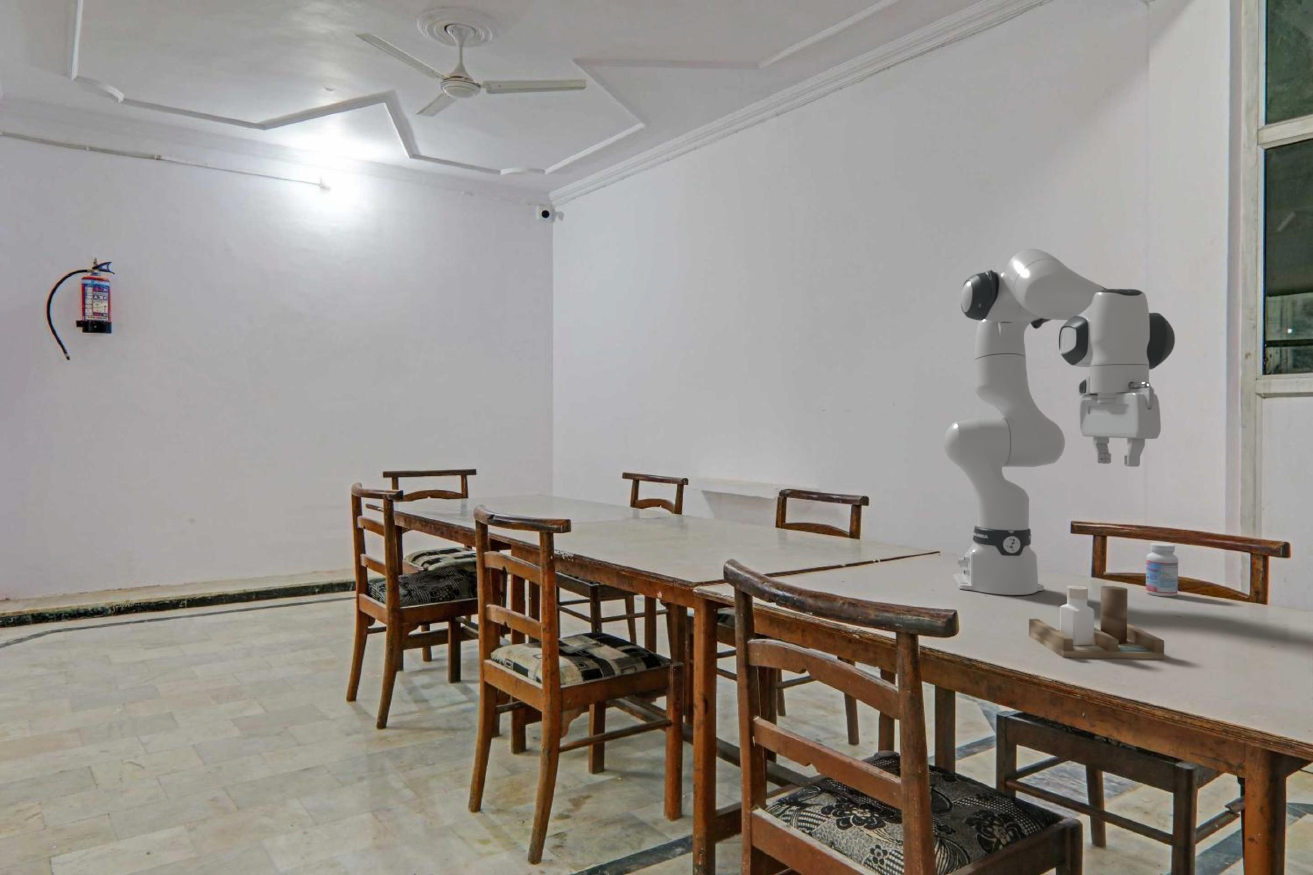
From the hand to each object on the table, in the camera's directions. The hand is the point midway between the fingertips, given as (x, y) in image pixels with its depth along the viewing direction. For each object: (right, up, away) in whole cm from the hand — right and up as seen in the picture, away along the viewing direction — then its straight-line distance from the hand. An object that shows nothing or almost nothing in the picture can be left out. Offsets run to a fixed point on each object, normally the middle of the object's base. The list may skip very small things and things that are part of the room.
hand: (1117, 464), depth 142 cm
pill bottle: (+34, -31, +44) cm, 64 cm away
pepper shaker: (-7, -30, -1) cm, 31 cm away
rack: (-4, -31, +1) cm, 31 cm away
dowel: (0, -30, +1) cm, 30 cm away
